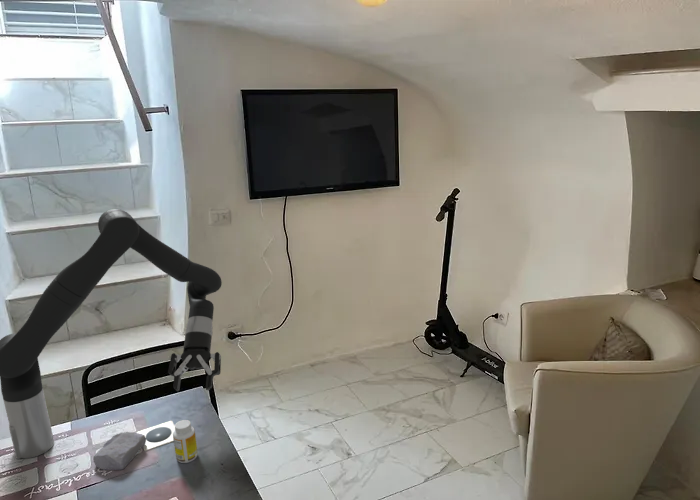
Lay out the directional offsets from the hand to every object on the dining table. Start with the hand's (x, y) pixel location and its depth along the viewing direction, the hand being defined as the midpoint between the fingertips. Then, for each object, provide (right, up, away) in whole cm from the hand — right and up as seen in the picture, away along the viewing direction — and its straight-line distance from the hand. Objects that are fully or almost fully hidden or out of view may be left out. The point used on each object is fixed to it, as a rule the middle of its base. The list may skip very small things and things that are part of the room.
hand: (192, 390), depth 149 cm
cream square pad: (-10, -14, +3) cm, 18 cm away
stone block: (-18, -16, -5) cm, 25 cm away
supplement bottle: (0, -17, -6) cm, 18 cm away
